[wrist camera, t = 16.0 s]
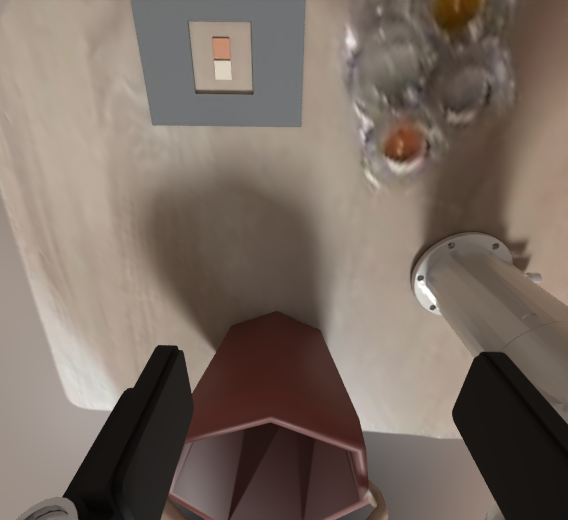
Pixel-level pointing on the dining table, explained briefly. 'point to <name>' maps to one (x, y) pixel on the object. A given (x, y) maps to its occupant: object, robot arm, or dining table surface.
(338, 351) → the dining table surface
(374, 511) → the bucket
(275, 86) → the grey frame plate
